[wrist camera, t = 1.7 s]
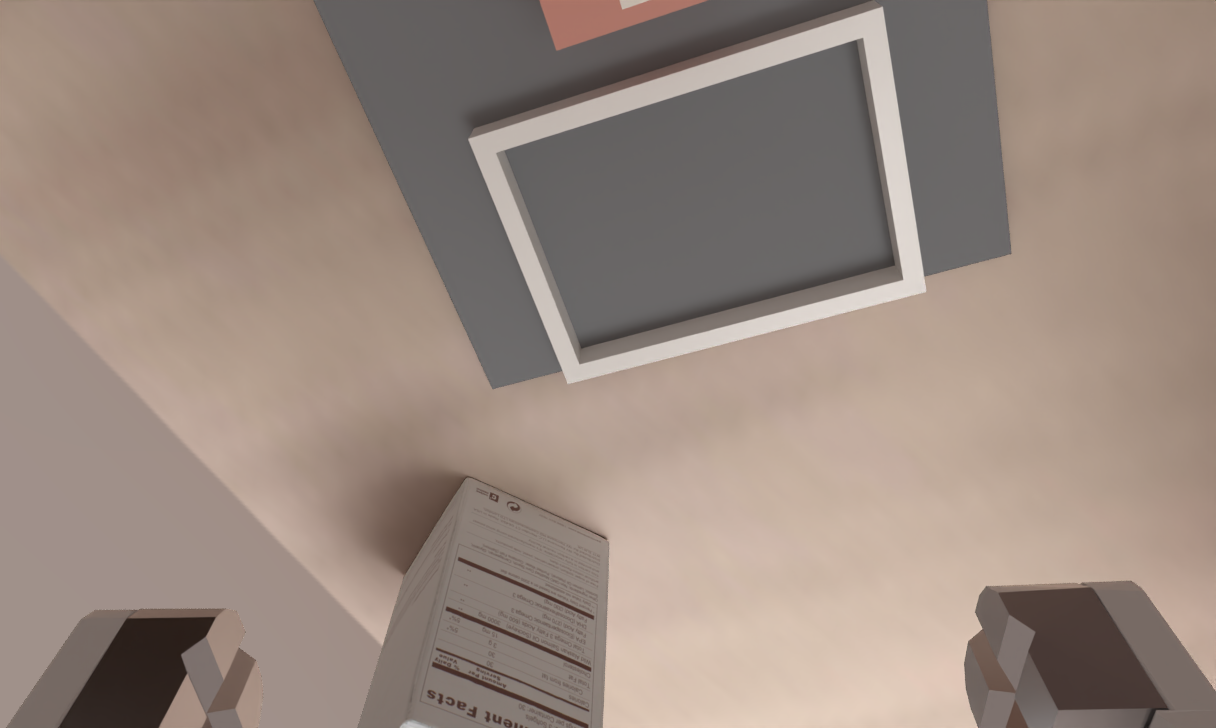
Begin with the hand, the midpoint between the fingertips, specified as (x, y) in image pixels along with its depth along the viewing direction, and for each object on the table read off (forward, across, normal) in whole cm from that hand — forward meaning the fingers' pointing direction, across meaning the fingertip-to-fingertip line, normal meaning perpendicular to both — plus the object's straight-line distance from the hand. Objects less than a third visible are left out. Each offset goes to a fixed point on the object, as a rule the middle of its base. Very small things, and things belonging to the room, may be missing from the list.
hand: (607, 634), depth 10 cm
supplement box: (+24, +6, +21) cm, 32 cm away
